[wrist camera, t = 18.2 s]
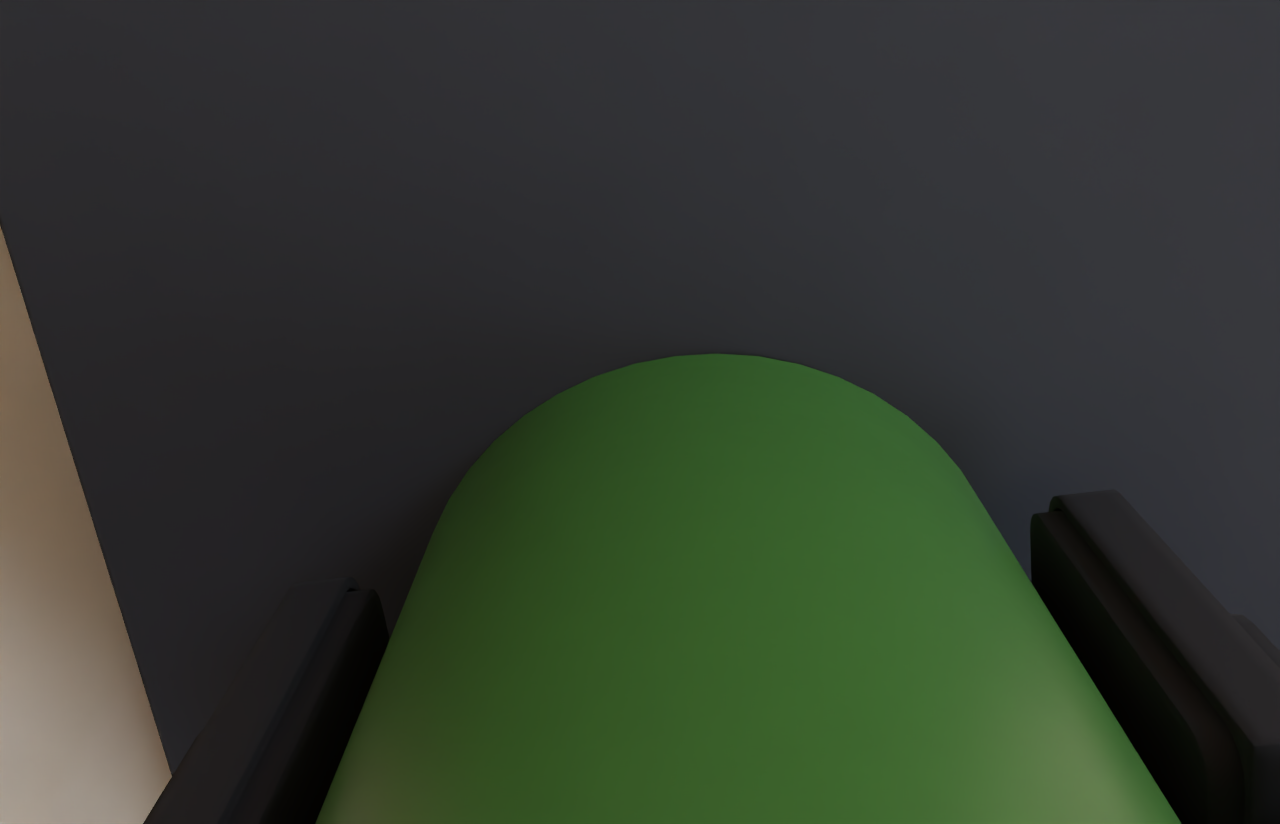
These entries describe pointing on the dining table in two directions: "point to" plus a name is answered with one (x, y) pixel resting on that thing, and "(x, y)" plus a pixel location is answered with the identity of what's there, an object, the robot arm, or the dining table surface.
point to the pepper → (728, 628)
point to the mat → (628, 261)
